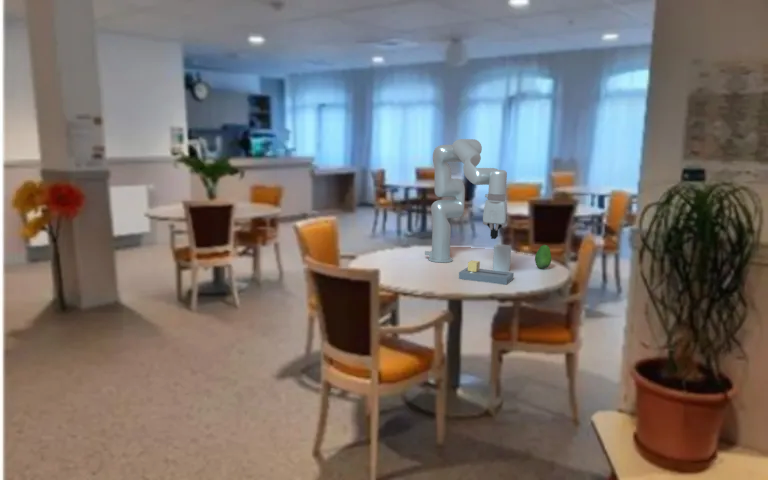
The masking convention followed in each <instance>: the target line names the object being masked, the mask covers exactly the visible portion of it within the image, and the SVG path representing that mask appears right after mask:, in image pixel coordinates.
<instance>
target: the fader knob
mask: <svg viewBox="0 0 768 480" xmlns="http://www.w3.org/2000/svg"><path fill="white" fill-rule="evenodd" d="M467 267H468V271H473V272H477V271H478V270H480V269H481V268H480V267H481V261H480V260H470V261H468V263H467Z"/></svg>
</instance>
